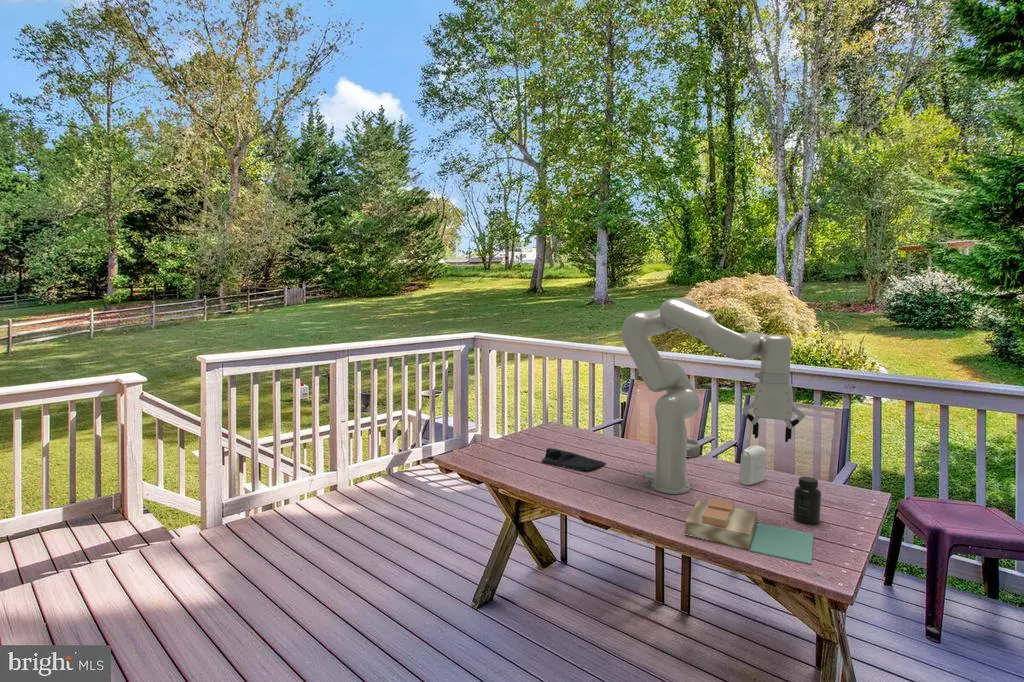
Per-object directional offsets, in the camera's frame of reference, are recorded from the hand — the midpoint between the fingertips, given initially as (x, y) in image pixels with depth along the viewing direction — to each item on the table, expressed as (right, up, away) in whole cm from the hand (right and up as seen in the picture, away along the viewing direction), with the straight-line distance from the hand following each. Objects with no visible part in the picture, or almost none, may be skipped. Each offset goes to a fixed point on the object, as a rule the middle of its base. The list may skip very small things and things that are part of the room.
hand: (771, 438), depth 161 cm
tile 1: (-16, -18, -4) cm, 25 cm away
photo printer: (+7, -20, +29) cm, 36 cm away
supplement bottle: (+10, -23, -1) cm, 25 cm away
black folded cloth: (-52, -18, +49) cm, 73 cm away
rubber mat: (-4, -25, -15) cm, 29 cm away
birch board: (-17, -24, -7) cm, 30 cm away
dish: (-7, -16, +61) cm, 64 cm away
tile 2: (-20, -19, -11) cm, 30 cm away
